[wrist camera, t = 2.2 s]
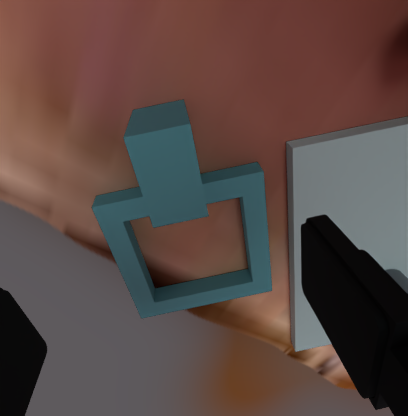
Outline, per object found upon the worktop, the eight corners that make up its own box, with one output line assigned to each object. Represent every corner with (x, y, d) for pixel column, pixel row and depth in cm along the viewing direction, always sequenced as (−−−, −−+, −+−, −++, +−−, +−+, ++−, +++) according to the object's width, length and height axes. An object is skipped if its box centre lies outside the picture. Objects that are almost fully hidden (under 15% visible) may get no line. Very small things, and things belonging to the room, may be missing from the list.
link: (65, 124, 17) (34, 156, 13) (250, 85, 17) (278, 105, 13) (142, 303, 26) (138, 358, 22) (266, 277, 26) (287, 327, 22)
